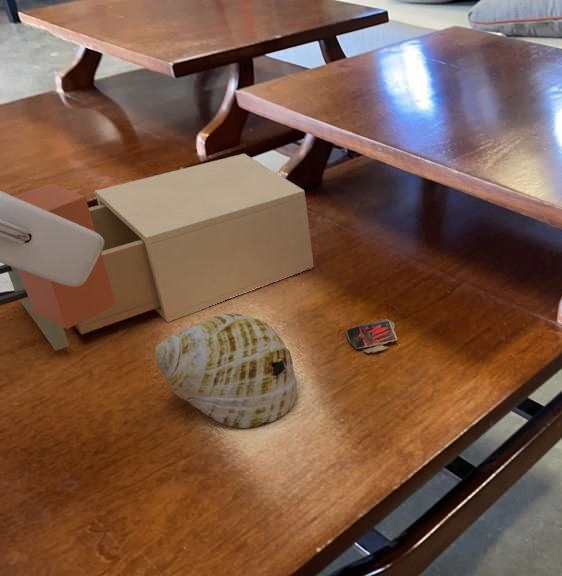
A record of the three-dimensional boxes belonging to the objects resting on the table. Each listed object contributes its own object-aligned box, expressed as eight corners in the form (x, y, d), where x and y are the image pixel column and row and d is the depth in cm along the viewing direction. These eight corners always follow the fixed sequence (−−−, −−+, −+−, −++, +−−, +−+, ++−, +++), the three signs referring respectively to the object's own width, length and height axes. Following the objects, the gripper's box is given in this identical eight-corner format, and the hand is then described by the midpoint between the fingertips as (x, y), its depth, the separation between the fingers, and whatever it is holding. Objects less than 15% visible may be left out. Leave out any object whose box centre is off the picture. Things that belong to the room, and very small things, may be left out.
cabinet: (167, 322, 75) (145, 237, 70) (116, 270, 83) (94, 190, 78) (314, 268, 85) (304, 190, 80) (256, 226, 93) (244, 153, 88)
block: (67, 329, 54) (29, 217, 50) (33, 312, 56) (-6, 202, 51) (116, 304, 57) (85, 196, 53) (83, 289, 59) (50, 182, 54)
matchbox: (341, 333, 74) (340, 329, 74) (387, 318, 77) (387, 314, 77) (362, 358, 71) (361, 354, 71) (410, 340, 74) (410, 336, 73)
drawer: (2, 370, 67) (-29, 295, 63) (-33, 311, 74) (-62, 241, 70) (217, 293, 79) (204, 225, 74) (168, 249, 86) (153, 186, 82)
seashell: (321, 403, 64) (250, 332, 58) (224, 468, 64) (140, 404, 57) (296, 335, 72) (231, 265, 65) (208, 392, 71) (133, 328, 64)
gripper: (-11, 156, 38) (184, 248, 51) (-204, 83, 47) (4, 177, 59) (-74, 268, 37) (141, 334, 50) (-259, 174, 46) (-36, 250, 58)
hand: (65, 248), depth 55 cm, fingers closed on block, 4 cm apart
